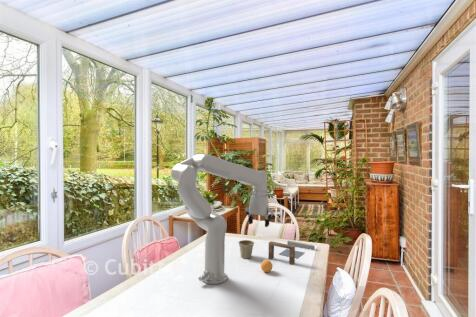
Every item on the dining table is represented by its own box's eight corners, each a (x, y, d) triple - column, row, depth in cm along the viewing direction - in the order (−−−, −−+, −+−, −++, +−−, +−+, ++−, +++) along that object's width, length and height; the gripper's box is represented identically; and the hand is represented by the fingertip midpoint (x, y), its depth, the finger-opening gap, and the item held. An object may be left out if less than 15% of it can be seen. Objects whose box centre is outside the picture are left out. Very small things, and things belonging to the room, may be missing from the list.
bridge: (292, 264, 156) (292, 247, 156) (268, 259, 164) (268, 242, 164) (294, 263, 158) (294, 246, 158) (270, 257, 167) (271, 241, 167)
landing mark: (297, 258, 166) (297, 258, 166) (278, 254, 172) (278, 254, 172) (304, 252, 176) (304, 252, 176) (286, 249, 182) (286, 248, 182)
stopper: (313, 250, 180) (313, 246, 180) (287, 245, 190) (287, 241, 190) (314, 249, 182) (314, 245, 182) (288, 244, 192) (288, 240, 192)
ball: (269, 275, 142) (269, 263, 142) (258, 272, 146) (258, 260, 145) (274, 271, 147) (274, 259, 147) (264, 268, 151) (264, 257, 150)
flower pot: (254, 254, 172) (254, 240, 172) (253, 260, 162) (253, 245, 162) (239, 253, 173) (239, 239, 172) (237, 259, 163) (237, 244, 163)
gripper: (242, 192, 153) (241, 224, 153) (271, 195, 144) (270, 229, 144) (248, 191, 160) (248, 221, 160) (277, 194, 151) (276, 226, 151)
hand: (258, 225), depth 152 cm, fingers open, 9 cm apart
